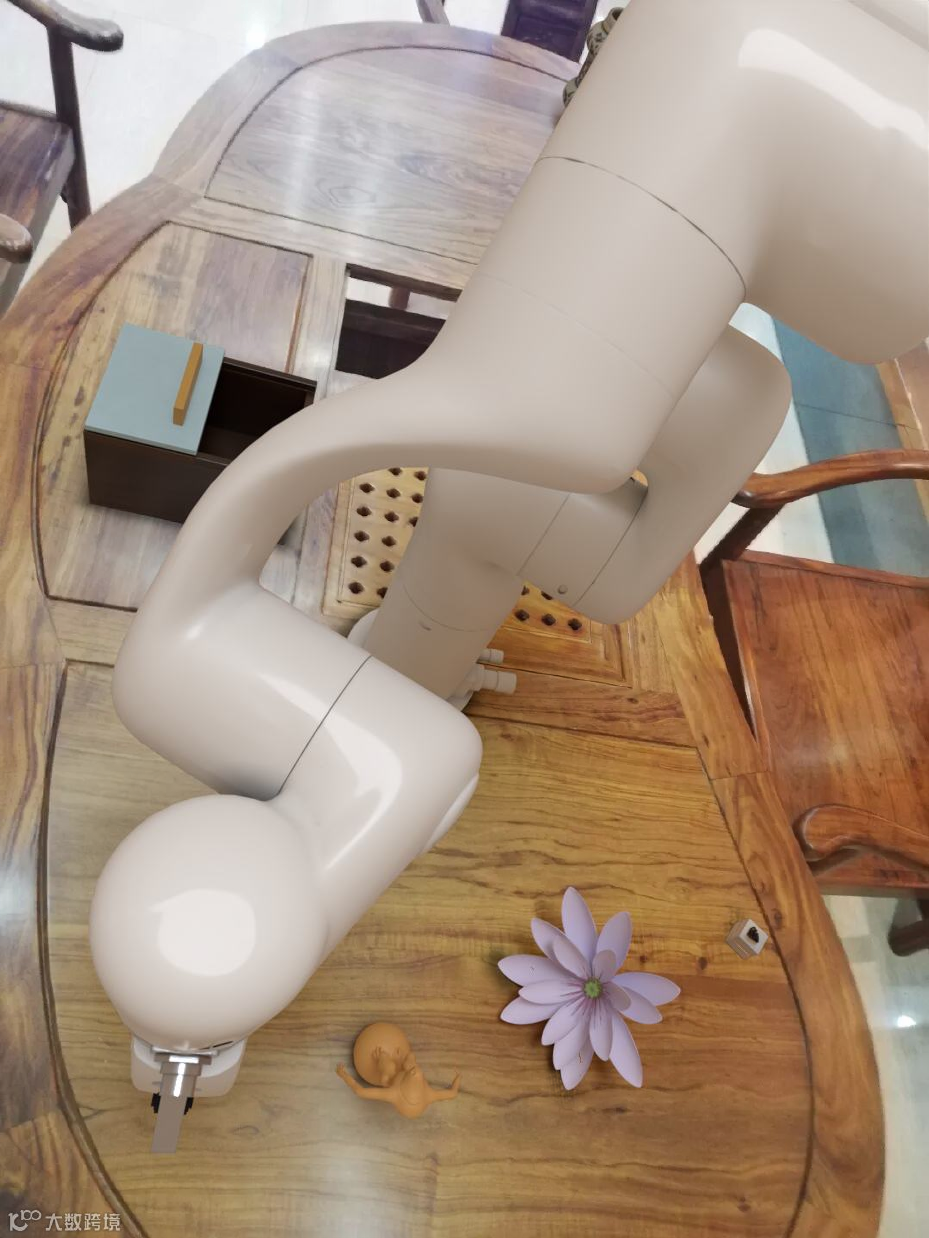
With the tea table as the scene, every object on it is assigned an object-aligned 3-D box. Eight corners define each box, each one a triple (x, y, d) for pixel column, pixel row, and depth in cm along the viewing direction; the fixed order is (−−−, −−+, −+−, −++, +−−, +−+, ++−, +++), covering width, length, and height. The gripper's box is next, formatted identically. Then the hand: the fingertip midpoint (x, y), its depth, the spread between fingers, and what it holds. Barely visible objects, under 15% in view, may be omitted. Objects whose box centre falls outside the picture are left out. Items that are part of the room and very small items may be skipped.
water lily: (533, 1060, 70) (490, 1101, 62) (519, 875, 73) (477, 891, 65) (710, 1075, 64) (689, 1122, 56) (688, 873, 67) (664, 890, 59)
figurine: (431, 1026, 63) (483, 1008, 53) (429, 1120, 60) (484, 1119, 50) (321, 1022, 61) (354, 1002, 51) (312, 1118, 57) (346, 1117, 48)
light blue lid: (196, 456, 70) (197, 435, 68) (84, 429, 68) (82, 407, 66) (224, 353, 77) (227, 331, 74) (124, 327, 74) (123, 303, 72)
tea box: (283, 545, 80) (298, 482, 72) (89, 503, 76) (82, 431, 68) (302, 448, 87) (317, 380, 79) (124, 404, 82) (122, 329, 75)
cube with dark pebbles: (724, 941, 74) (740, 935, 72) (734, 923, 75) (751, 917, 73) (743, 959, 73) (760, 954, 71) (753, 940, 75) (770, 935, 73)
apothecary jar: (627, 149, 141) (682, 36, 126) (598, 172, 134) (653, 55, 119) (569, 109, 142) (617, -8, 127) (536, 130, 135) (584, 9, 120)
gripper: (257, 1204, 32) (227, 1170, 47) (318, 776, 41) (276, 863, 56) (47, 1199, 30) (86, 1165, 45) (158, 753, 39) (160, 849, 54)
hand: (191, 998), depth 50 cm, fingers closed on kiwi fruit, 5 cm apart
